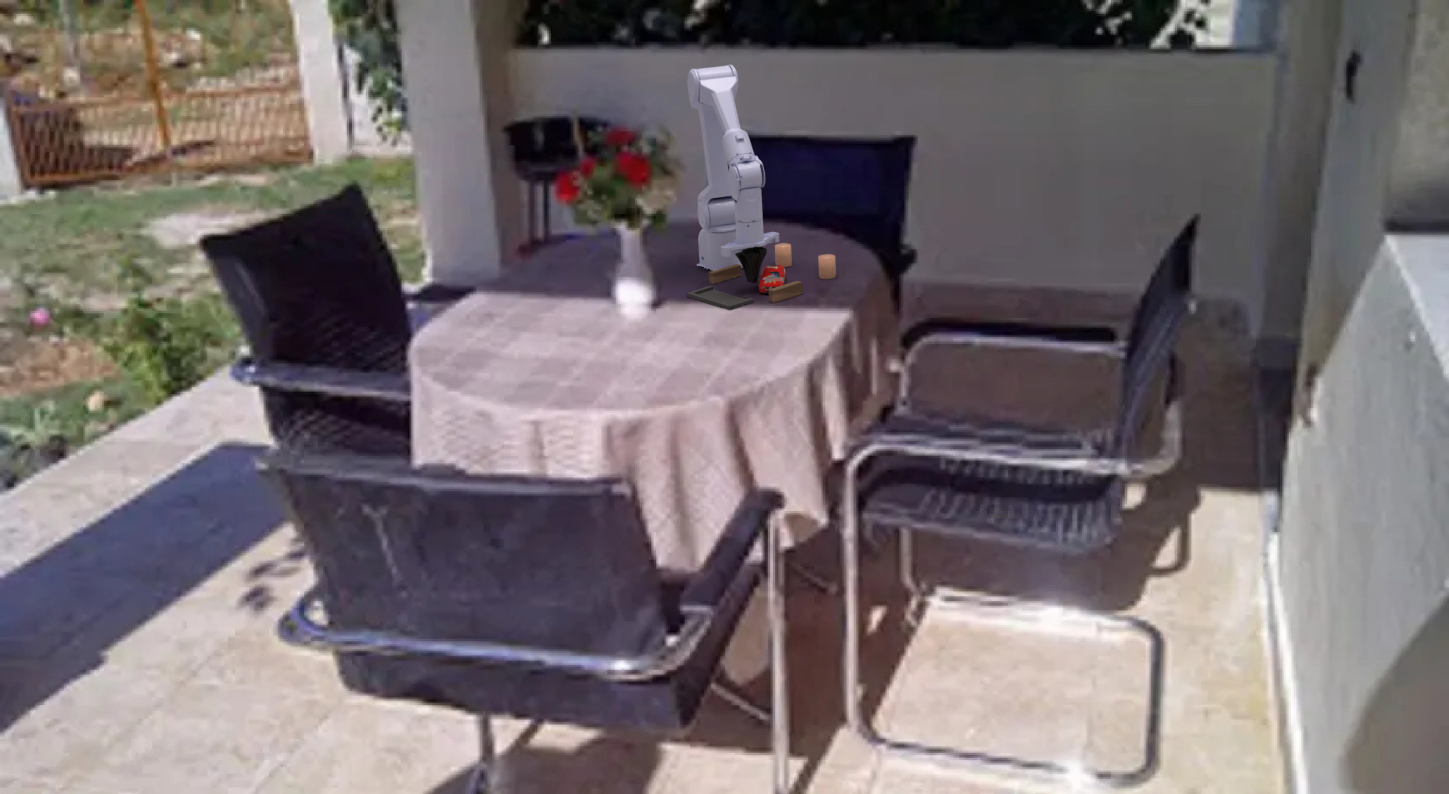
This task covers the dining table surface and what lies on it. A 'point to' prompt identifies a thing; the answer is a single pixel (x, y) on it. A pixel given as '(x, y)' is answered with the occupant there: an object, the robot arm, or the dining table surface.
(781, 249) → the peach rounded stick
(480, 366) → the dining table surface
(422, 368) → the dining table surface
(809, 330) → the dining table surface
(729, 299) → the tray
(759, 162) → the robot arm
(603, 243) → the dining table surface
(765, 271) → the race car
